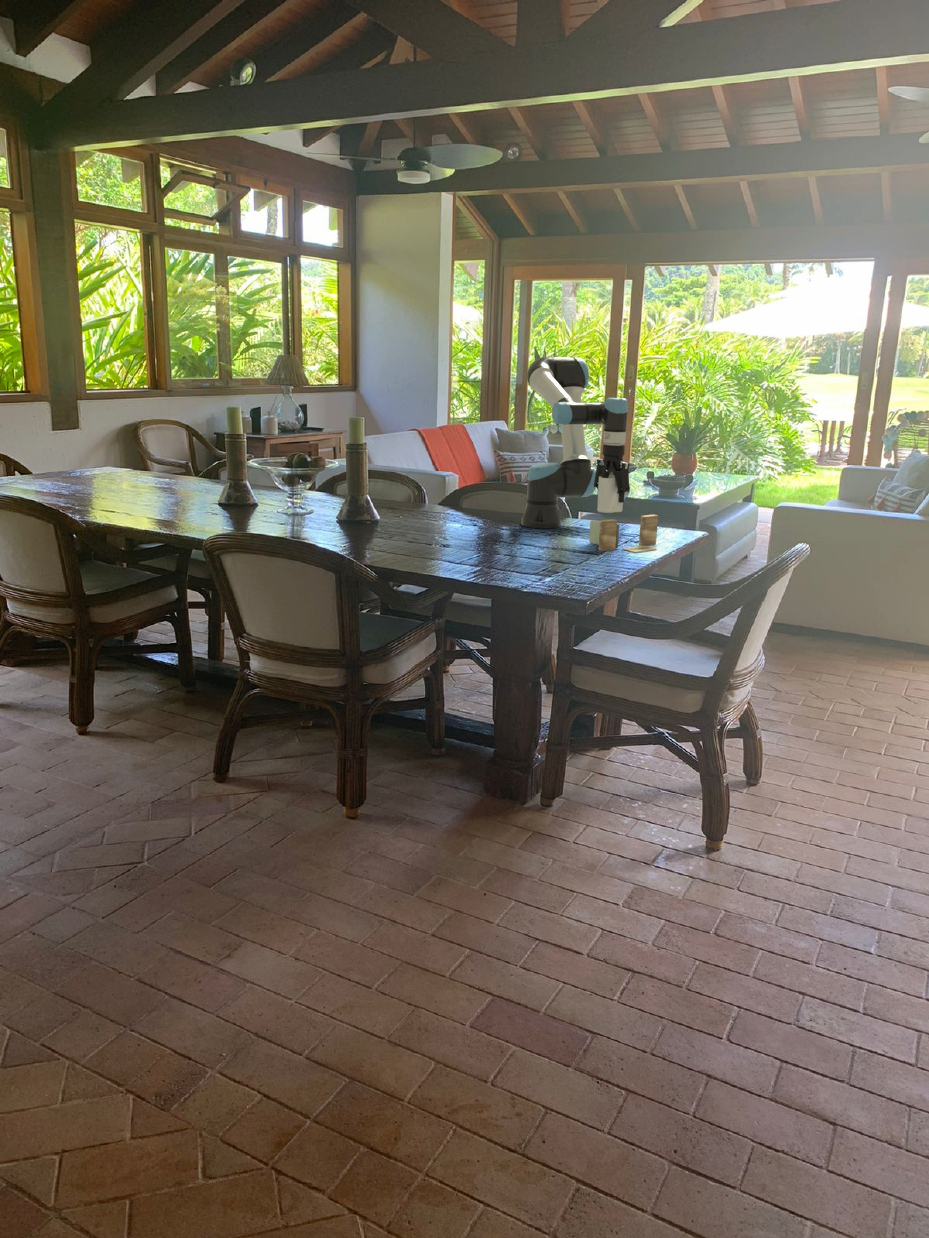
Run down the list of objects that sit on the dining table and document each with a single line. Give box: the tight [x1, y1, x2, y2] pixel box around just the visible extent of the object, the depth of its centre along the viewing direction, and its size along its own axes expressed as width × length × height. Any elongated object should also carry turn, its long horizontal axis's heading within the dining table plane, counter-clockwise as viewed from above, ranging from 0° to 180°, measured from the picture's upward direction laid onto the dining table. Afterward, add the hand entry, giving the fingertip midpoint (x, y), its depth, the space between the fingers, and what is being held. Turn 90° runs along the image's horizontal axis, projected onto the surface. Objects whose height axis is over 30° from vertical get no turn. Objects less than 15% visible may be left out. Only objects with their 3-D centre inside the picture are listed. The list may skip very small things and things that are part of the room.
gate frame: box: [598, 514, 659, 554], centre depth 315 cm, size 10×25×10 cm, turn 125°
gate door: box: [588, 520, 620, 549], centre depth 319 cm, size 12×1×8 cm, turn 43°
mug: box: [596, 475, 628, 514], centre depth 324 cm, size 10×7×12 cm, turn 72°
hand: (609, 509), depth 326 cm, fingers closed on mug, 8 cm apart
